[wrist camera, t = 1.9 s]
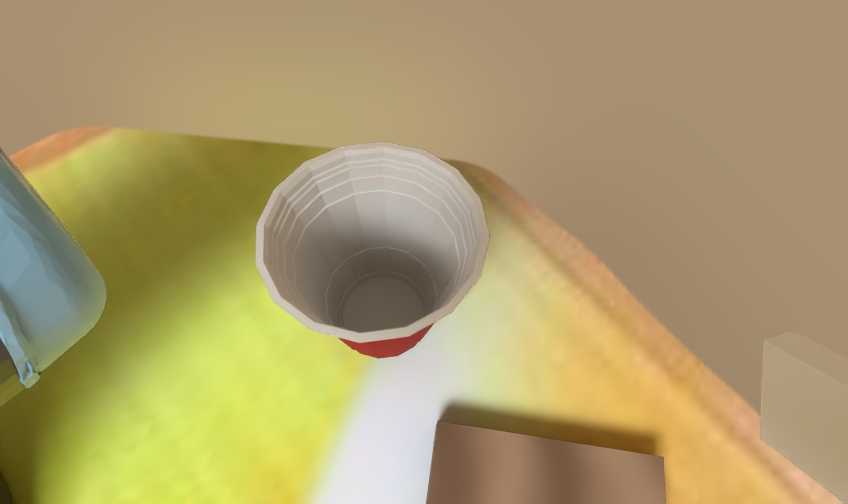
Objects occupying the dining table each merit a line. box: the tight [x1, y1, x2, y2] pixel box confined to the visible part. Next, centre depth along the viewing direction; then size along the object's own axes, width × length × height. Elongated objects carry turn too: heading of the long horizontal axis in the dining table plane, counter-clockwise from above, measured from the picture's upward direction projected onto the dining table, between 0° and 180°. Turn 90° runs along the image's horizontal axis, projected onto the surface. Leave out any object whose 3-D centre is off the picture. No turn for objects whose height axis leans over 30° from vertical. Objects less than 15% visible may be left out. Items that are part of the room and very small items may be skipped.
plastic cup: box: [255, 142, 490, 358], centre depth 29 cm, size 11×11×12 cm
